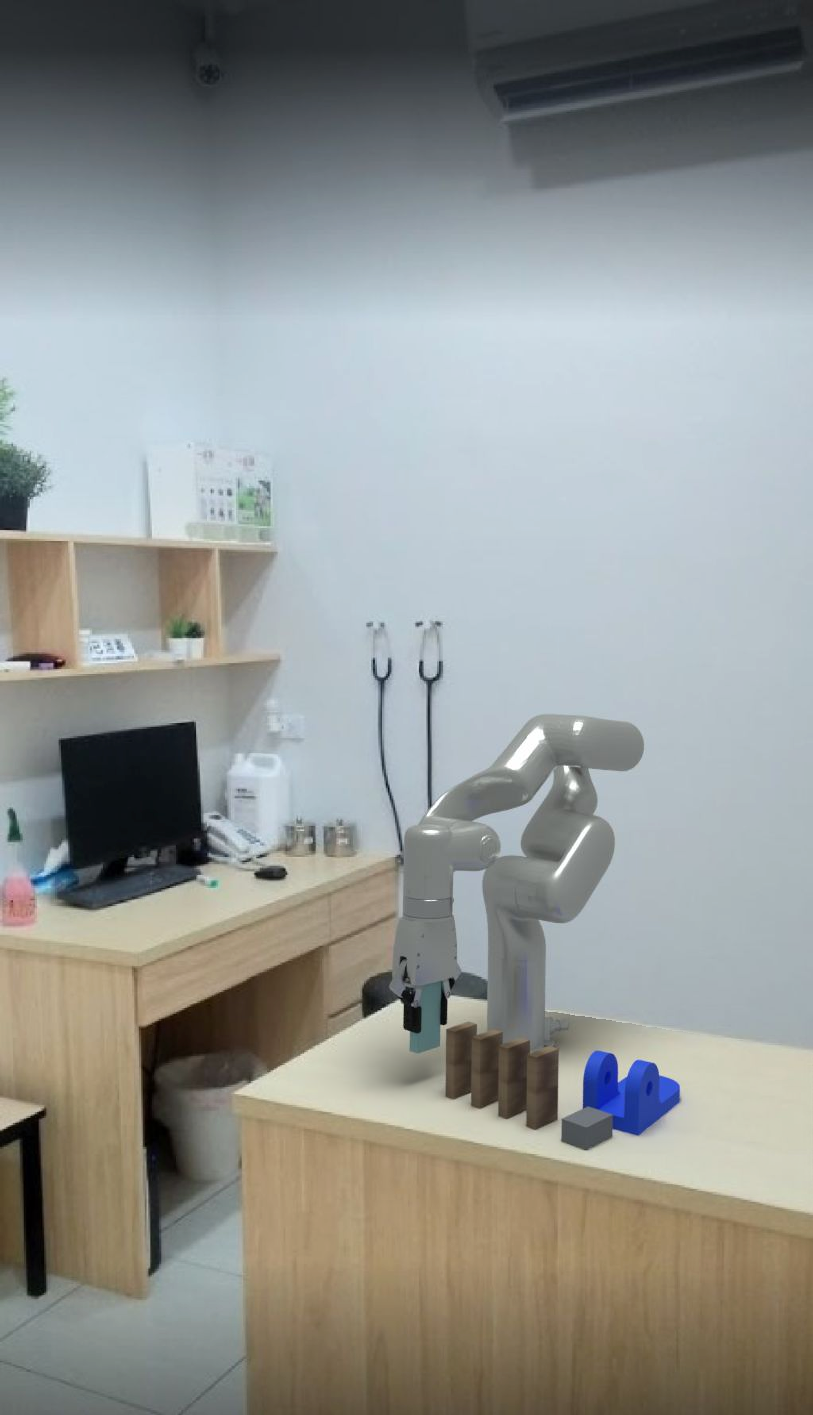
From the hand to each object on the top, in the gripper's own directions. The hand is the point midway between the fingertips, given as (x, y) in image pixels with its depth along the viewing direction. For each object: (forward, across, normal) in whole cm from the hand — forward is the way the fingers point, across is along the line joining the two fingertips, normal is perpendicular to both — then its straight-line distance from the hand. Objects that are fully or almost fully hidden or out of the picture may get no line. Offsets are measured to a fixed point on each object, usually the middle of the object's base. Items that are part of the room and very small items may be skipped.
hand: (425, 1025), depth 172 cm
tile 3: (+9, 0, +12) cm, 15 cm away
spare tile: (+3, 0, 0) cm, 3 cm away
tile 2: (+9, 0, +7) cm, 11 cm away
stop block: (+9, 0, +30) cm, 31 cm away
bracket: (+9, -15, +28) cm, 33 cm away
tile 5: (+9, 0, +22) cm, 24 cm away
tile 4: (+9, 0, +17) cm, 19 cm away
